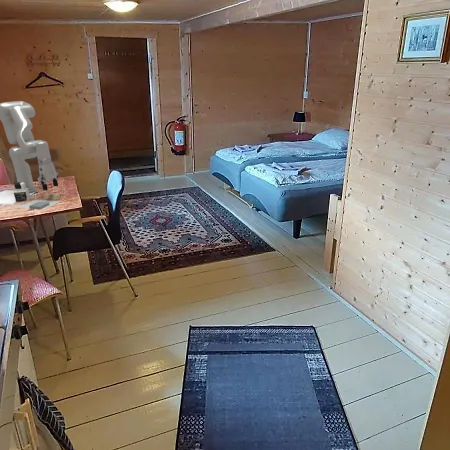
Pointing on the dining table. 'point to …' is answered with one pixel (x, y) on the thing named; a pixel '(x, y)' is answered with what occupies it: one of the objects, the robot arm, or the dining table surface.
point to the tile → (39, 205)
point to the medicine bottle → (21, 192)
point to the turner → (52, 197)
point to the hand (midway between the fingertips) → (50, 188)
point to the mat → (39, 201)
